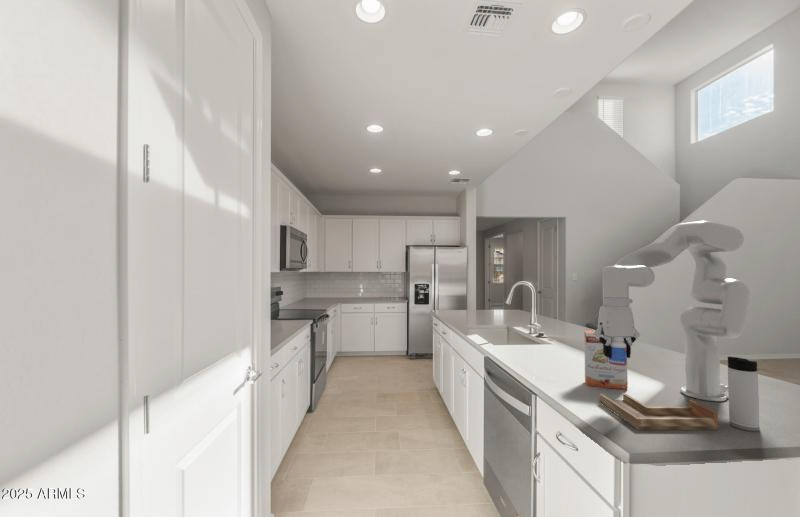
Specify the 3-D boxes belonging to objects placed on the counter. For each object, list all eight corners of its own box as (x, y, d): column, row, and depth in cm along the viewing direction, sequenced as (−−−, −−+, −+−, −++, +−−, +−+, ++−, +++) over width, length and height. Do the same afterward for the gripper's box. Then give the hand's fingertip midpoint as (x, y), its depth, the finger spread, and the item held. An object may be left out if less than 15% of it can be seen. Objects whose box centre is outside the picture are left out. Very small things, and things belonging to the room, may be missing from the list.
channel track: (666, 402, 120) (666, 388, 120) (718, 429, 100) (717, 412, 100) (599, 402, 121) (599, 388, 121) (637, 429, 101) (637, 412, 101)
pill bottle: (629, 368, 115) (629, 337, 115) (611, 367, 116) (610, 337, 116) (622, 363, 120) (622, 334, 120) (605, 362, 121) (604, 334, 121)
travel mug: (722, 422, 105) (720, 354, 105) (742, 421, 105) (740, 354, 106) (744, 432, 99) (742, 360, 99) (766, 431, 99) (763, 359, 100)
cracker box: (586, 386, 137) (585, 332, 138) (584, 381, 143) (583, 329, 143) (628, 390, 132) (627, 334, 132) (625, 385, 138) (623, 332, 138)
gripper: (634, 301, 122) (635, 354, 122) (584, 301, 122) (585, 354, 122) (649, 303, 114) (650, 359, 114) (595, 303, 115) (597, 359, 114)
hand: (617, 356), depth 118 cm, fingers closed on pill bottle, 5 cm apart
